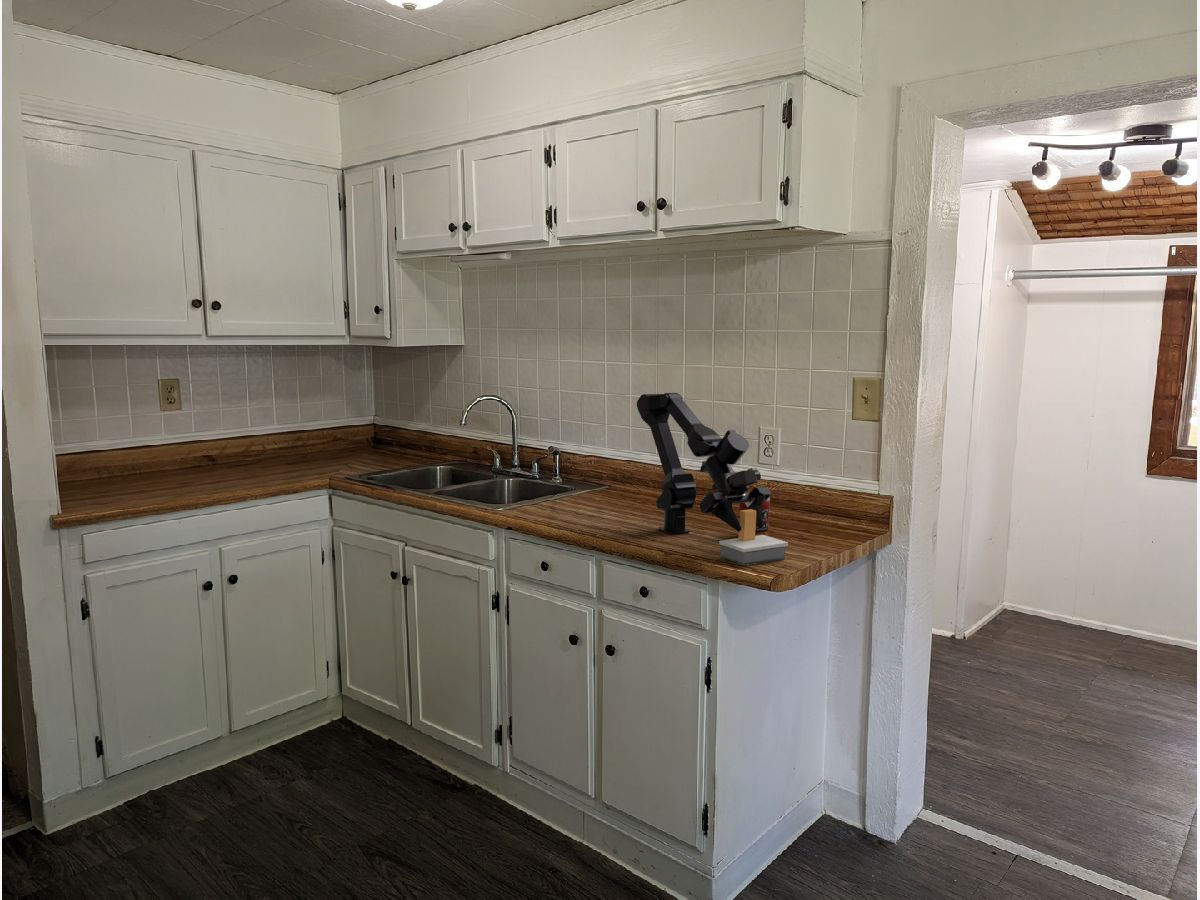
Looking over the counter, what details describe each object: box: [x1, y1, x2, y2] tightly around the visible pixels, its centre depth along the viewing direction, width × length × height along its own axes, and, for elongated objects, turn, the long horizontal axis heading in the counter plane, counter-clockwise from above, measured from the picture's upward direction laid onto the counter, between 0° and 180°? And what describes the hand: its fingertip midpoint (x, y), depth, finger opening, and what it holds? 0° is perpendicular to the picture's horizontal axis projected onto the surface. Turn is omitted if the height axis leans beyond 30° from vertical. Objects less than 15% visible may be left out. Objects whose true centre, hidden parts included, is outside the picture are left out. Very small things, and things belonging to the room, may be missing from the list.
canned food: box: [737, 496, 771, 536], centre depth 224 cm, size 8×8×11 cm
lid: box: [718, 509, 789, 552], centre depth 202 cm, size 9×14×8 cm, turn 122°
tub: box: [720, 544, 787, 566], centre depth 203 cm, size 8×13×3 cm, turn 122°
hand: (751, 529), depth 203 cm, fingers open, 7 cm apart
